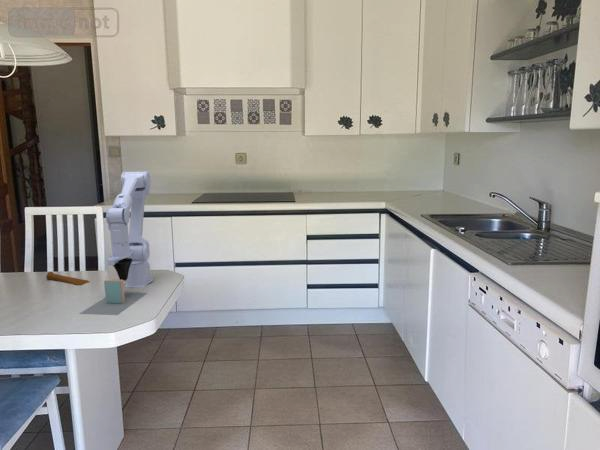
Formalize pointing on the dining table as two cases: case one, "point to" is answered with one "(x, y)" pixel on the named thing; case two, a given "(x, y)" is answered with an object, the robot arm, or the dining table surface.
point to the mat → (113, 305)
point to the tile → (114, 291)
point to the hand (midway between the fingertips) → (123, 279)
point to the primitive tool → (66, 279)
